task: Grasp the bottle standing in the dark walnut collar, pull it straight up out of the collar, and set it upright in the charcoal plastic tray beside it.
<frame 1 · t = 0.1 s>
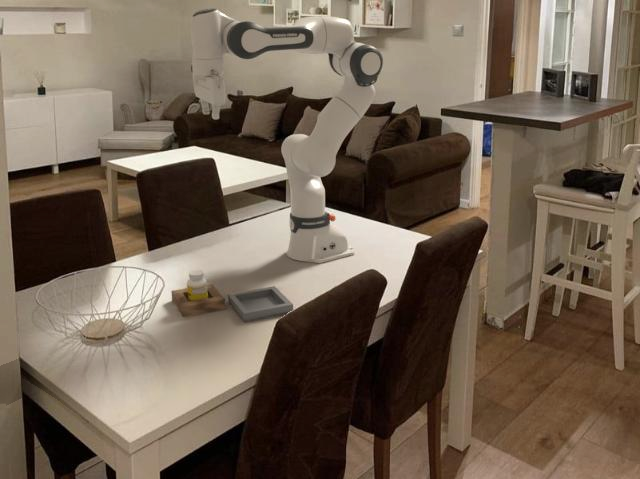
hand: (210, 116, 214), 48 cm above the table, tool pointing down, fingers open, 8 cm apart
supplement bottle: (198, 305, 204), resting in walnut collar
walnut collar: (198, 304, 204), on the table
charcoal tray: (260, 307, 202), on the table
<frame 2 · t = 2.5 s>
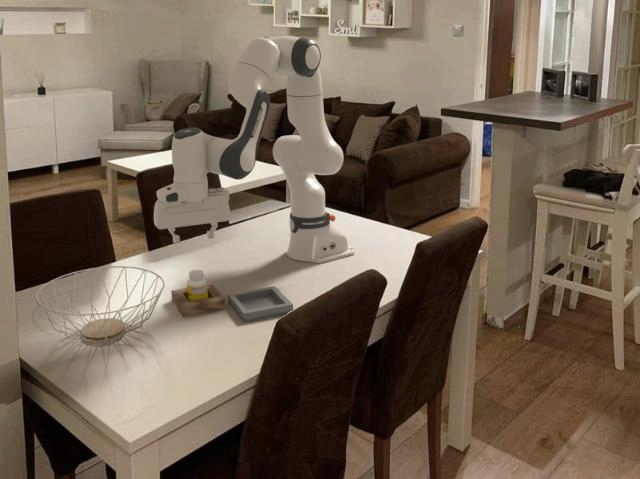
hand: (193, 240, 197), 19 cm above the table, tool pointing down, fingers open, 8 cm apart
nothing on the table moved.
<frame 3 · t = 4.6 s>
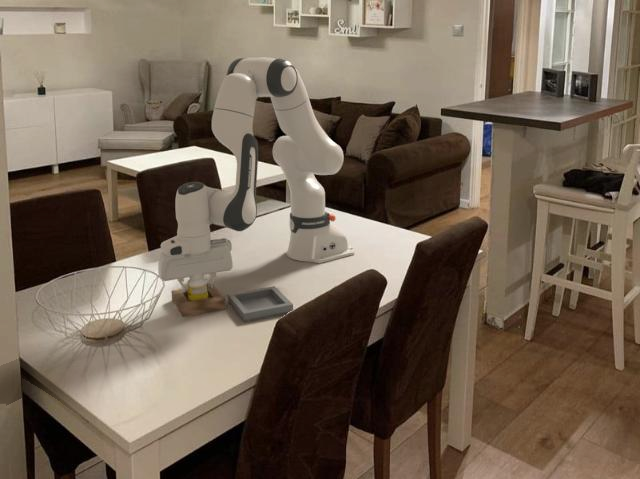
hand: (197, 289, 202), 5 cm above the table, tool pointing down, fingers closed on supplement bottle, 5 cm apart
supplement bottle: (198, 305, 204), resting in walnut collar, touching gripper
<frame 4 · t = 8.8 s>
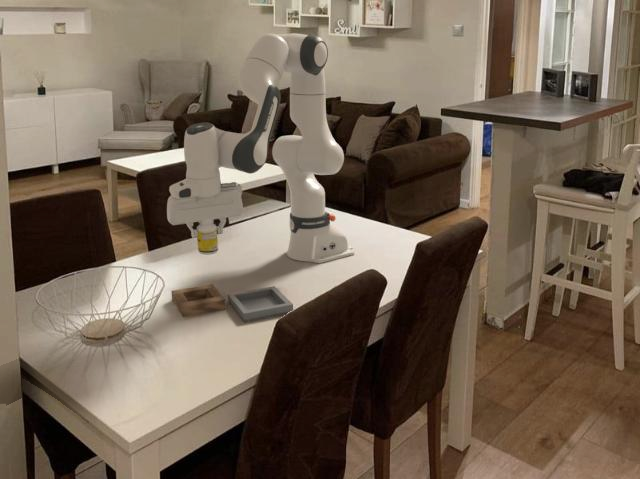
hand: (207, 235, 197), 21 cm above the table, tool pointing down, fingers closed on supplement bottle, 5 cm apart
supplement bottle: (208, 252, 199), point 16 cm above the table, touching gripper
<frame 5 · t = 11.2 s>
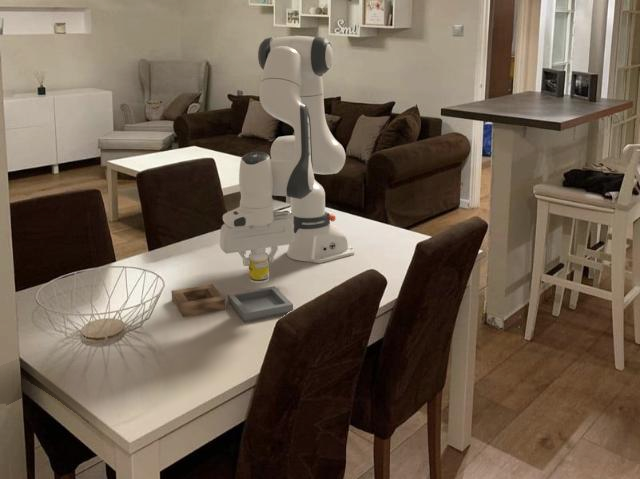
hand: (258, 263, 198), 13 cm above the table, tool pointing down, fingers closed on supplement bottle, 5 cm apart
supplement bottle: (259, 280, 199), point 8 cm above the table, touching gripper
when the fingers open (7 cm above the table, at t = 13.2 s): supplement bottle drops 1 cm, resting on charcoal tray.
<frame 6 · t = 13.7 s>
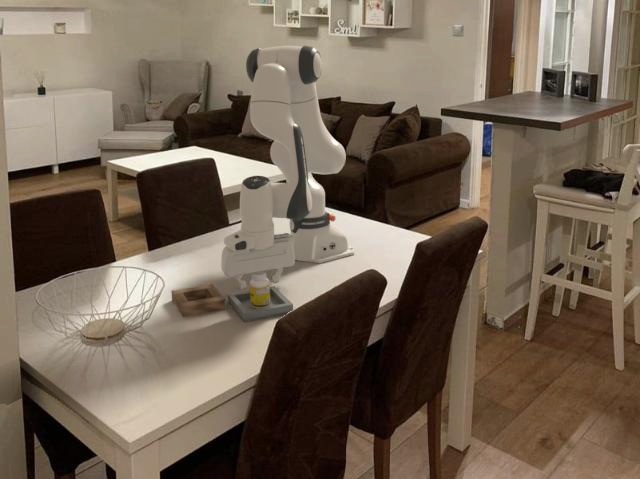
hand: (259, 285, 200), 7 cm above the table, tool pointing down, fingers open, 8 cm apart
supplement bottle: (260, 306, 202), resting on charcoal tray
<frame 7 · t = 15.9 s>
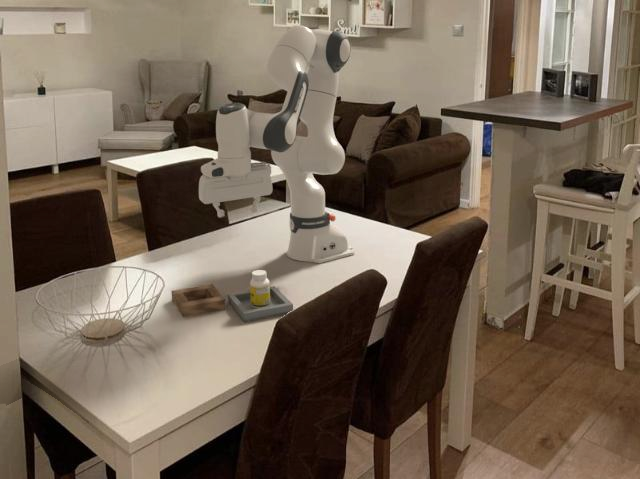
hand: (237, 214, 201), 25 cm above the table, tool pointing down, fingers open, 8 cm apart
nothing on the table moved.
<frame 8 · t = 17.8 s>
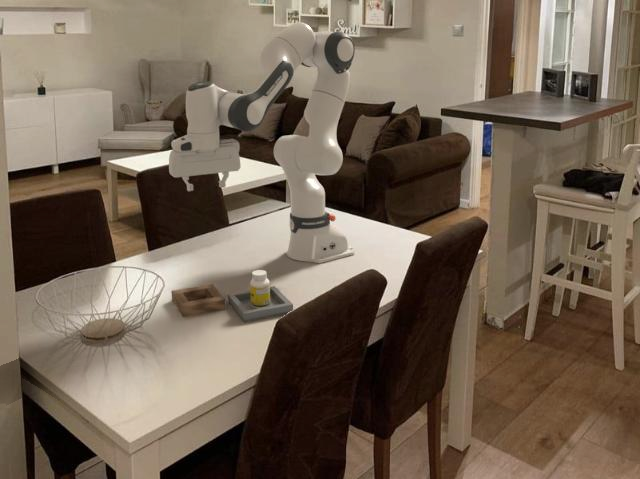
hand: (206, 188, 209), 29 cm above the table, tool pointing down, fingers open, 8 cm apart
nothing on the table moved.
at the end: supplement bottle inside the target area on the charcoal tray (0.1 cm from its centre), point 0.4 cm above the charcoal tray's base; supplement bottle tilted 0°; the gripper is holding nothing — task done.
